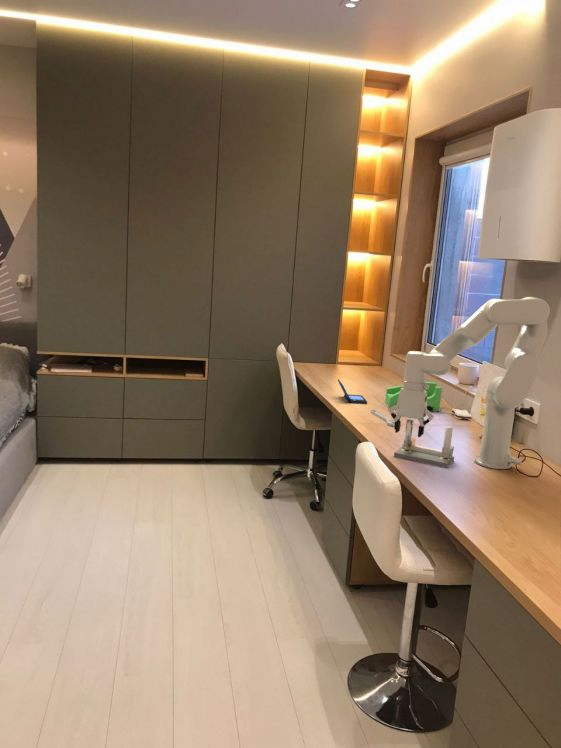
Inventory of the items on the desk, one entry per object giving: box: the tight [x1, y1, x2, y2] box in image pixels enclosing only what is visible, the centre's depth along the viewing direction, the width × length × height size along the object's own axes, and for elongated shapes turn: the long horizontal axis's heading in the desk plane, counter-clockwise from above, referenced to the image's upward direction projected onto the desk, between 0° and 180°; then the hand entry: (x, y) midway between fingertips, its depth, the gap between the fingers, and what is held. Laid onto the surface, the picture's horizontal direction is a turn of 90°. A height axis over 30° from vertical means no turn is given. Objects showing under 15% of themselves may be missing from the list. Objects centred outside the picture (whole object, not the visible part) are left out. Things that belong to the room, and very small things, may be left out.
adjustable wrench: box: [370, 409, 402, 428], centre depth 278 cm, size 25×6×2 cm, turn 12°
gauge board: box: [393, 425, 455, 469], centre depth 222 cm, size 19×10×13 cm, turn 62°
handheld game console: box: [337, 378, 368, 405], centre depth 312 cm, size 16×13×9 cm
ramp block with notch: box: [384, 381, 443, 412], centre depth 306 cm, size 24×13×12 cm, turn 88°
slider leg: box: [402, 418, 416, 450], centre depth 227 cm, size 3×6×11 cm, turn 152°
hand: (408, 433), depth 225 cm, fingers open, 7 cm apart
